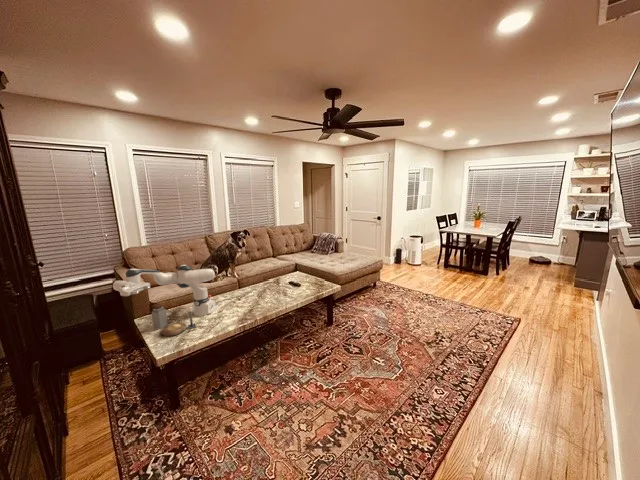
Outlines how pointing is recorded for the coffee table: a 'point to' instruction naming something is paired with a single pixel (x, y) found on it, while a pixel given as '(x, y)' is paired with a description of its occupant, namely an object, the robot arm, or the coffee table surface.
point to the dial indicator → (190, 310)
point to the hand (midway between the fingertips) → (144, 290)
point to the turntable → (174, 329)
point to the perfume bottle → (159, 317)
